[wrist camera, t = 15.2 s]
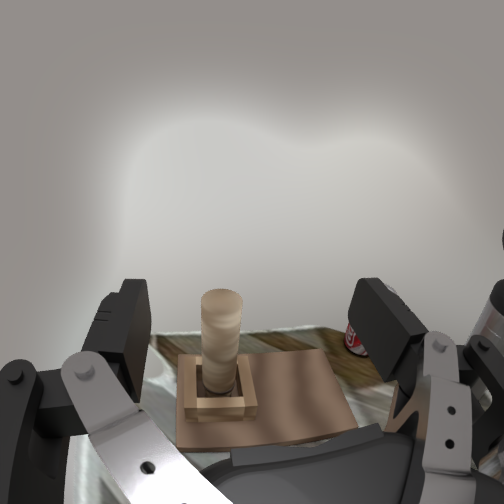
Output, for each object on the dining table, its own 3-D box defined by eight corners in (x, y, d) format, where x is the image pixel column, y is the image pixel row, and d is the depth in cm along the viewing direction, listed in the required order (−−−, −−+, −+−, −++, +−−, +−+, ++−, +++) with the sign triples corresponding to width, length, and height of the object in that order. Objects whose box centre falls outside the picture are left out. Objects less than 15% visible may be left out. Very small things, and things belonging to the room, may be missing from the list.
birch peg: (232, 384, 37) (240, 288, 30) (235, 408, 33) (245, 312, 26) (202, 385, 36) (200, 288, 29) (203, 408, 32) (200, 312, 25)
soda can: (370, 364, 43) (396, 308, 38) (335, 348, 47) (355, 291, 42) (382, 343, 48) (404, 289, 43) (350, 328, 52) (368, 275, 47)
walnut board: (319, 354, 45) (327, 332, 43) (354, 432, 31) (368, 412, 29) (178, 360, 41) (176, 337, 39) (177, 452, 27) (172, 434, 25)
